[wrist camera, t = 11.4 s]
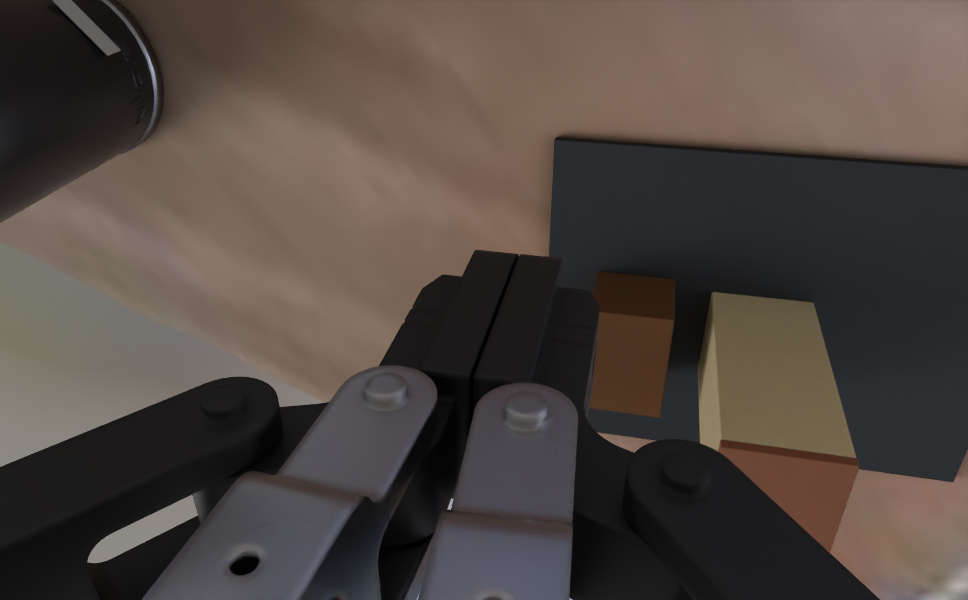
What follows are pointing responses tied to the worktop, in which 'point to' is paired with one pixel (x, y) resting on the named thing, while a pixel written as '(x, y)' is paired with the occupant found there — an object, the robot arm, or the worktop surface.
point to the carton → (777, 407)
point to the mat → (773, 282)
